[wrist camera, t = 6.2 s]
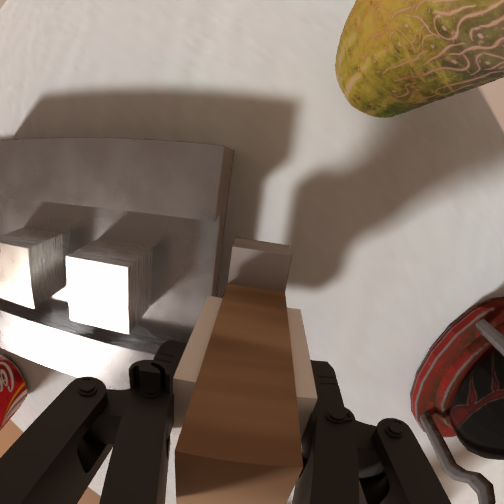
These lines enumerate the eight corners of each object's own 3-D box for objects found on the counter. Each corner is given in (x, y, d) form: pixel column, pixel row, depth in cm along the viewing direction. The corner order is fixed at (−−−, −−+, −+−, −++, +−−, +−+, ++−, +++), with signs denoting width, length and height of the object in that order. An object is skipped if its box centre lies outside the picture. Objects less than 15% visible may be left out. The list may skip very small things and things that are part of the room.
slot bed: (209, 368, 25) (199, 408, 21) (18, 319, 26) (-12, 342, 21) (233, 149, 21) (224, 145, 16) (9, 142, 21) (-30, 143, 16)
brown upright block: (268, 351, 20) (266, 540, 8) (222, 344, 20) (178, 528, 8) (289, 245, 18) (327, 410, 6) (236, 237, 18) (174, 390, 6)
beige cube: (65, 286, 21) (34, 309, 17) (26, 277, 21) (-5, 296, 17) (62, 233, 20) (28, 248, 16) (23, 227, 20) (-12, 240, 16)
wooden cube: (151, 305, 21) (128, 334, 17) (98, 294, 21) (70, 319, 17) (152, 247, 20) (127, 267, 16) (97, 239, 20) (65, 255, 16)
